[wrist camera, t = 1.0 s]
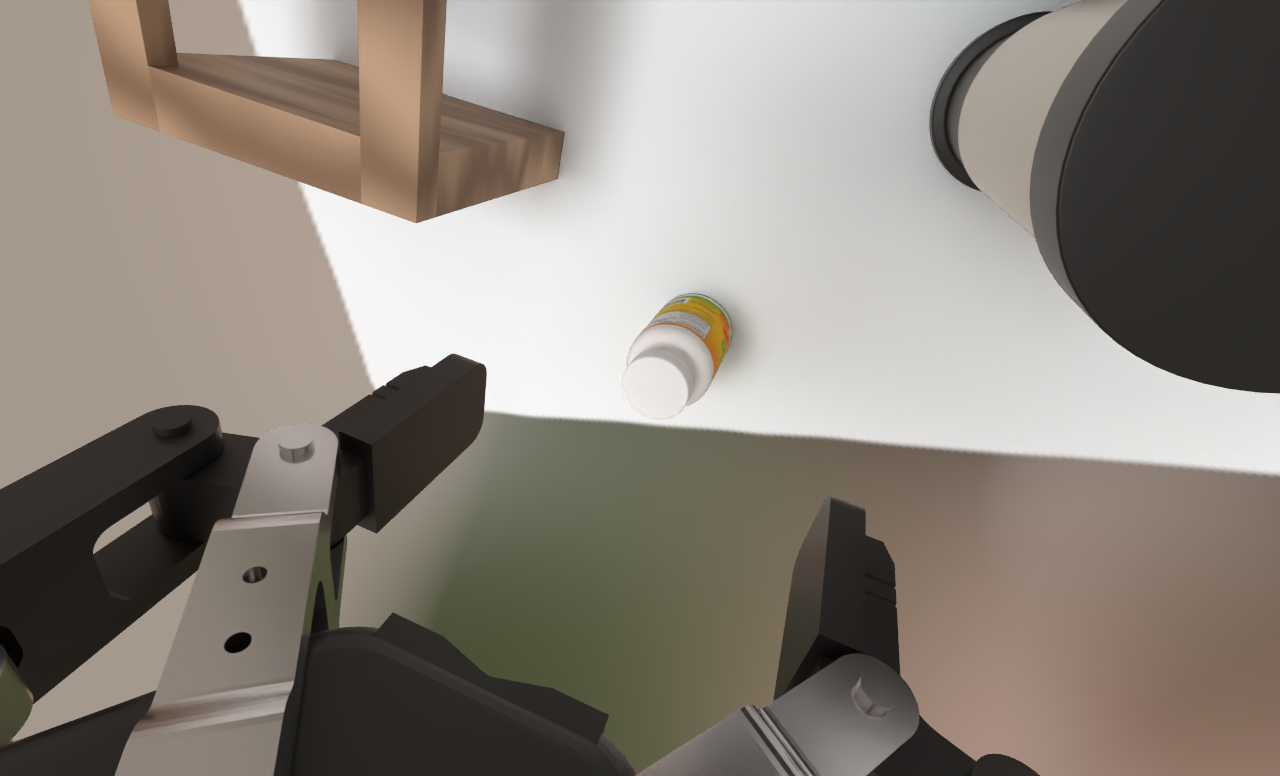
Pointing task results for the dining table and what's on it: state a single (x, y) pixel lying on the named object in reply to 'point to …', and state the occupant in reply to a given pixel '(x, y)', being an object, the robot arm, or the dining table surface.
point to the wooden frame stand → (330, 110)
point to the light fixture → (1138, 169)
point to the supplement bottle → (676, 356)
